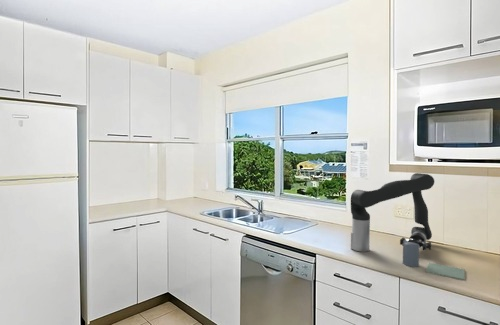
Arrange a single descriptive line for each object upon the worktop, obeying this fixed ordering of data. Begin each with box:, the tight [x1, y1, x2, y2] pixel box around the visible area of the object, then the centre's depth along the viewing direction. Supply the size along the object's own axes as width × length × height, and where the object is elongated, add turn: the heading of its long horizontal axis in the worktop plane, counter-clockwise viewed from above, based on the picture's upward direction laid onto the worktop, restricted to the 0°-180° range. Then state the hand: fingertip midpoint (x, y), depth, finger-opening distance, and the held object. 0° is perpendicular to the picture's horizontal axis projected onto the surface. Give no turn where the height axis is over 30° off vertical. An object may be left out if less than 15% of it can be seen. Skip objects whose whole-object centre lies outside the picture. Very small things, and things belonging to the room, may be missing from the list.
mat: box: [425, 262, 466, 281], centre depth 132 cm, size 14×13×1 cm
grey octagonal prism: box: [402, 242, 420, 268], centre depth 141 cm, size 6×6×10 cm
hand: (413, 246), depth 148 cm, fingers open, 8 cm apart
